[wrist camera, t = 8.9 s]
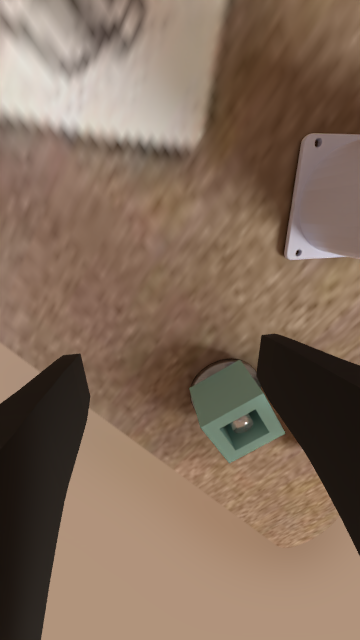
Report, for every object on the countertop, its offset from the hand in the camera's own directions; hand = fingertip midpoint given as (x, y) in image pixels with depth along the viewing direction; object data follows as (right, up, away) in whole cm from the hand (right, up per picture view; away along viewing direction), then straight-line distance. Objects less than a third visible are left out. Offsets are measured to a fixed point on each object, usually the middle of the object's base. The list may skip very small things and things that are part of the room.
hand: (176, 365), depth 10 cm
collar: (+5, -5, +13) cm, 15 cm away
